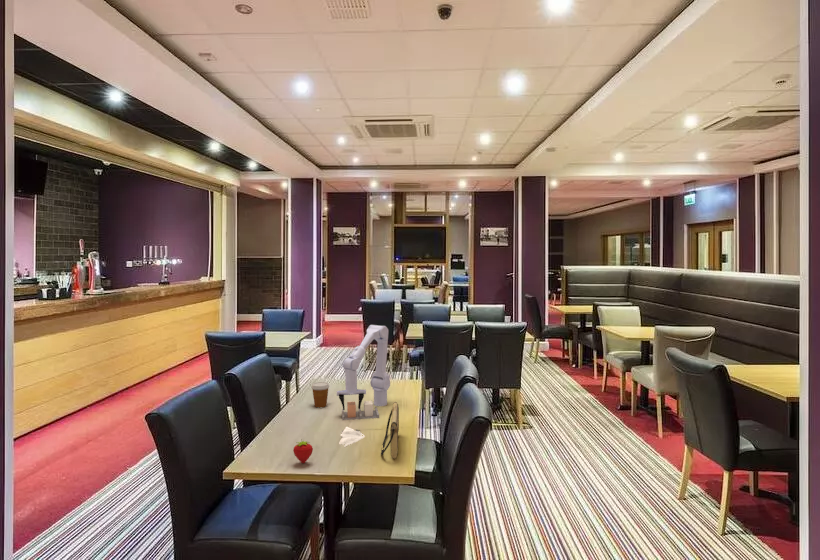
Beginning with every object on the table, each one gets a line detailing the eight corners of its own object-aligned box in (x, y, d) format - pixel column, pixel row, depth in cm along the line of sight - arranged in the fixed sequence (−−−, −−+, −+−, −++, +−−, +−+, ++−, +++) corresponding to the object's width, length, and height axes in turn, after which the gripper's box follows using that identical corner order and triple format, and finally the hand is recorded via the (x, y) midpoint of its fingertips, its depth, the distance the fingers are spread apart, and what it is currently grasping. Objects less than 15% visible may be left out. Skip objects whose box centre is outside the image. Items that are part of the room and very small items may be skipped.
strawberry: (311, 466, 176) (310, 441, 175) (291, 466, 176) (291, 440, 176) (314, 460, 182) (314, 435, 181) (295, 460, 182) (295, 435, 181)
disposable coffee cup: (308, 407, 248) (307, 385, 247) (318, 402, 257) (317, 381, 256) (323, 409, 244) (323, 387, 244) (332, 404, 253) (332, 382, 253)
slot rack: (341, 414, 237) (341, 409, 236) (376, 412, 240) (376, 407, 239) (342, 422, 225) (342, 417, 225) (379, 419, 228) (379, 414, 228)
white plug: (364, 412, 235) (364, 401, 235) (372, 412, 236) (371, 400, 236) (365, 416, 230) (364, 404, 229) (373, 416, 230) (372, 404, 230)
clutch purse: (383, 433, 210) (383, 401, 209) (399, 433, 210) (398, 400, 209) (379, 461, 180) (379, 424, 179) (397, 461, 180) (397, 423, 179)
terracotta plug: (347, 413, 234) (347, 402, 234) (355, 413, 235) (355, 401, 235) (347, 417, 228) (347, 405, 228) (355, 417, 229) (355, 405, 229)
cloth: (356, 450, 193) (356, 444, 193) (325, 448, 195) (325, 442, 195) (372, 428, 218) (372, 423, 218) (344, 426, 221) (344, 421, 221)
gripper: (336, 384, 226) (337, 412, 226) (366, 383, 228) (366, 410, 229) (336, 381, 233) (336, 407, 233) (365, 379, 235) (365, 406, 236)
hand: (351, 408), depth 231 cm, fingers open, 7 cm apart
